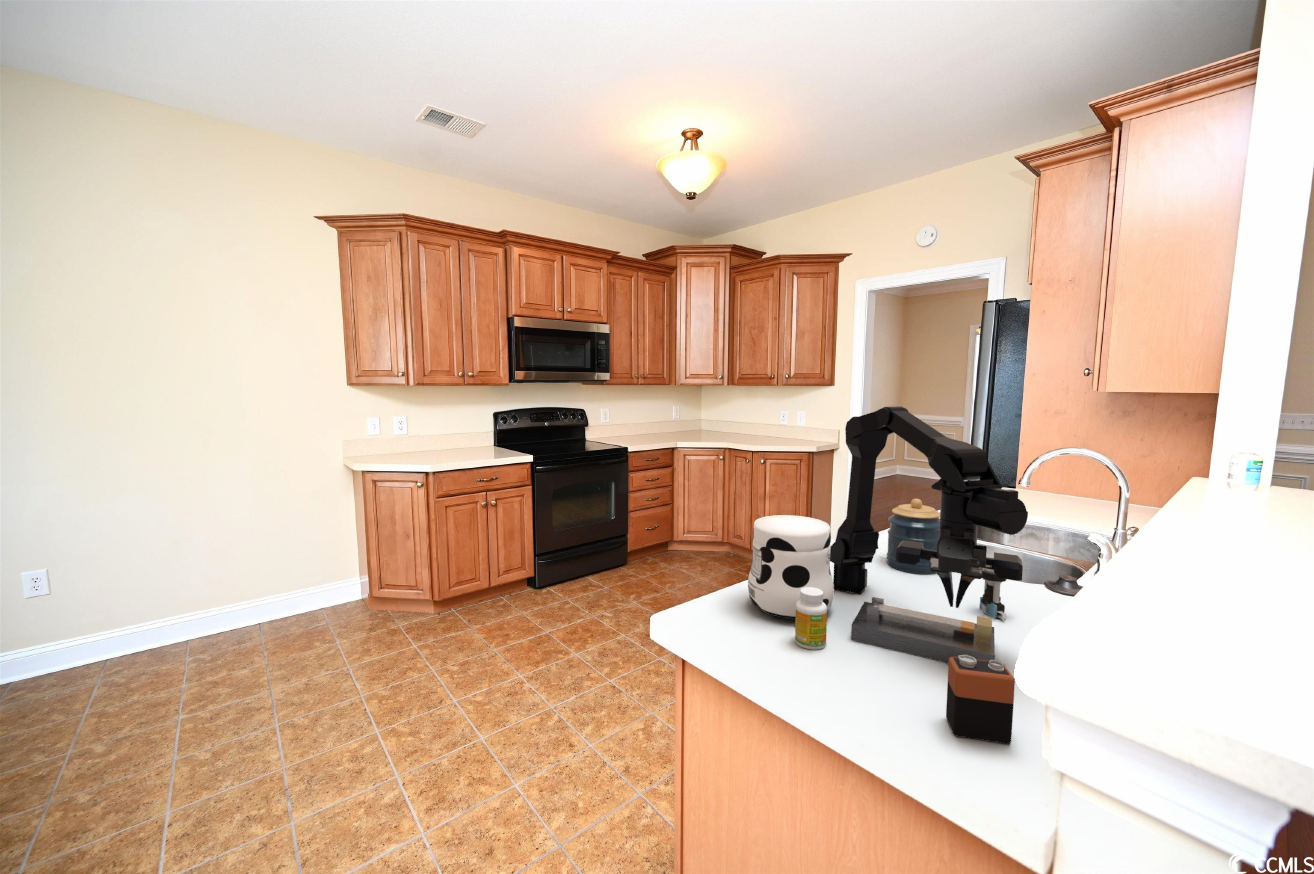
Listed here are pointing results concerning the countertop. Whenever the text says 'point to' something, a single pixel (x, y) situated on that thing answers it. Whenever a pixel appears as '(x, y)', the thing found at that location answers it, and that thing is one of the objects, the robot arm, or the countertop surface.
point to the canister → (913, 533)
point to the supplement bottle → (811, 619)
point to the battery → (980, 699)
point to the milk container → (789, 562)
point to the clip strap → (926, 618)
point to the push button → (992, 595)
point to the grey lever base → (922, 636)
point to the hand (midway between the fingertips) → (954, 606)
